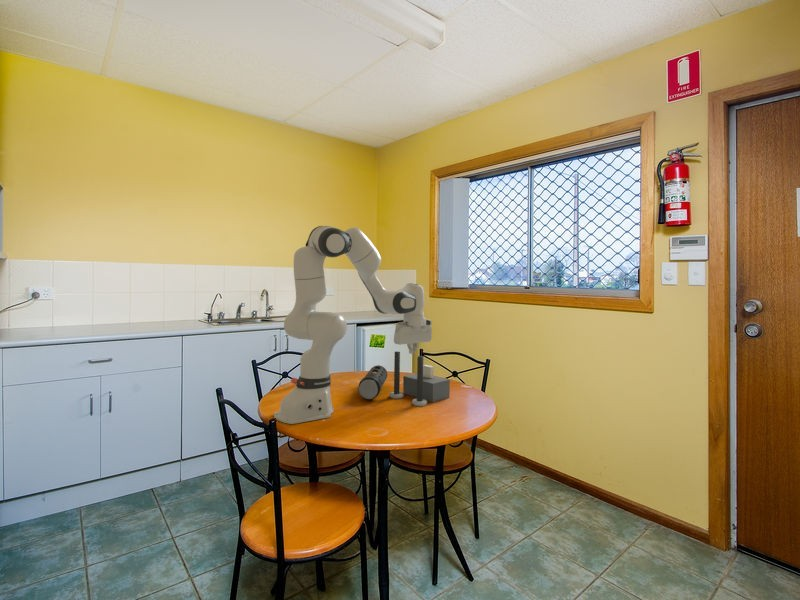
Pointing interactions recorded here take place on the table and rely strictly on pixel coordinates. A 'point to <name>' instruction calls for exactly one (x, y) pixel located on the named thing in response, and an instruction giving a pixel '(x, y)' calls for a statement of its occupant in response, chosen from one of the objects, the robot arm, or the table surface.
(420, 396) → the right cord post
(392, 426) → the table surface
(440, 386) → the box
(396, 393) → the post
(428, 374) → the breaker switch
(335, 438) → the table surface
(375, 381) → the muzzle brake
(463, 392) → the table surface
